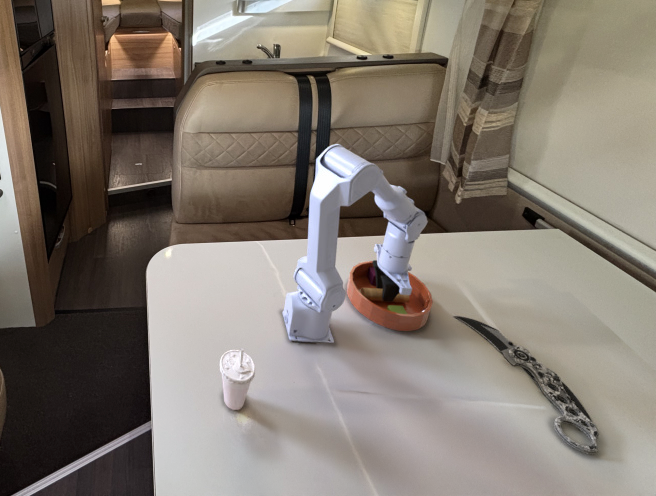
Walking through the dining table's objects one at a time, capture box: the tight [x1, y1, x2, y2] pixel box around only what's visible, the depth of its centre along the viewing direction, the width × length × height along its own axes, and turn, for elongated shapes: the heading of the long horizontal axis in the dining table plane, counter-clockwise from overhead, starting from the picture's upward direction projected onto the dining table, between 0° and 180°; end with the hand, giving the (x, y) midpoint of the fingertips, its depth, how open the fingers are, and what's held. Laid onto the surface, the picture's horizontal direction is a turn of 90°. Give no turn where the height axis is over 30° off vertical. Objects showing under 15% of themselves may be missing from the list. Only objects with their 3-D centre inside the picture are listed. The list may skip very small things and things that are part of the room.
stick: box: [361, 288, 409, 303], centre depth 102 cm, size 10×3×3 cm, turn 85°
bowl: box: [346, 260, 434, 332], centre depth 102 cm, size 17×17×5 cm
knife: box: [453, 315, 600, 455], centre depth 85 cm, size 28×2×10 cm
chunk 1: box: [367, 267, 376, 286], centre depth 108 cm, size 3×3×3 cm
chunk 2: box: [387, 305, 407, 314], centre depth 96 cm, size 3×3×3 cm
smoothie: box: [219, 347, 256, 411], centre depth 78 cm, size 6×6×14 cm
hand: (384, 294), depth 102 cm, fingers closed on stick, 3 cm apart
